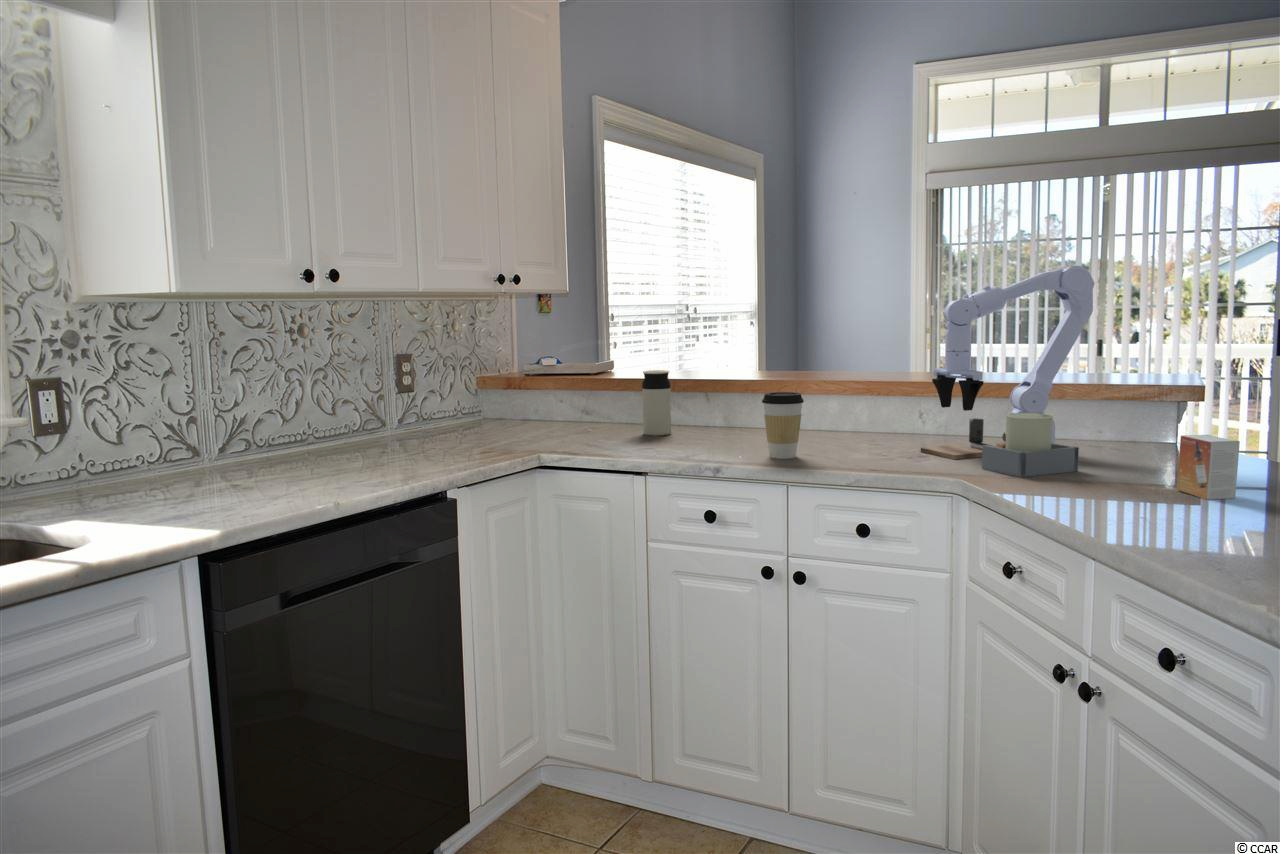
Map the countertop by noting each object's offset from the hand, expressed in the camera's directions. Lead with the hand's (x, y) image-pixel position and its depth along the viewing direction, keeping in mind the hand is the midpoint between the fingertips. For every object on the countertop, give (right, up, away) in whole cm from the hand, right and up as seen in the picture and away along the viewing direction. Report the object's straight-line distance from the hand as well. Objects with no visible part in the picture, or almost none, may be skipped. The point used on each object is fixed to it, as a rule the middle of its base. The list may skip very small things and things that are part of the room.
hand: (956, 408), depth 212 cm
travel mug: (-70, -7, +43) cm, 83 cm away
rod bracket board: (-1, -11, -1) cm, 11 cm away
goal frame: (+7, -13, -22) cm, 27 cm away
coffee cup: (-41, -12, +1) cm, 43 cm away
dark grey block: (+3, -12, -12) cm, 17 cm away
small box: (+27, -17, -50) cm, 59 cm away
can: (+7, -14, -22) cm, 27 cm away
